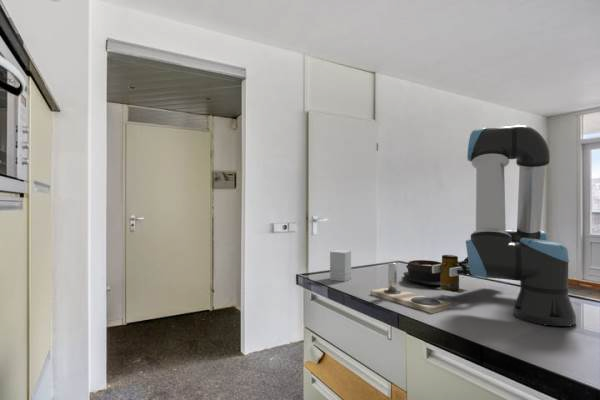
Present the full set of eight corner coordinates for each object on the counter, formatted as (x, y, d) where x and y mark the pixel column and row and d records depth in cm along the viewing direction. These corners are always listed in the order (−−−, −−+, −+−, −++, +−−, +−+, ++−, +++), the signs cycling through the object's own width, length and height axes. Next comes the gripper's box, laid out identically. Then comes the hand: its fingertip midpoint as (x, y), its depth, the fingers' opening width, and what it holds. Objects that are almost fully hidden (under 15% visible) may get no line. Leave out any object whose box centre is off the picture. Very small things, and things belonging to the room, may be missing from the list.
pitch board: (450, 307, 111) (450, 302, 111) (432, 313, 106) (432, 308, 106) (388, 290, 133) (388, 286, 133) (370, 294, 127) (370, 289, 127)
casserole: (393, 276, 158) (393, 258, 158) (430, 275, 161) (430, 257, 162) (421, 290, 134) (421, 269, 134) (464, 288, 137) (464, 267, 137)
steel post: (398, 296, 125) (398, 263, 125) (392, 297, 123) (392, 264, 123) (391, 294, 127) (392, 262, 127) (386, 295, 125) (386, 263, 125)
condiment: (445, 286, 126) (445, 253, 126) (468, 290, 120) (468, 256, 120) (435, 289, 122) (435, 255, 122) (458, 294, 115) (458, 258, 115)
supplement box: (351, 278, 153) (351, 250, 153) (344, 282, 147) (344, 252, 147) (336, 276, 157) (337, 249, 157) (329, 279, 151) (329, 251, 151)
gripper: (503, 279, 124) (467, 287, 111) (454, 271, 139) (418, 276, 127) (503, 258, 124) (468, 264, 111) (454, 252, 140) (418, 256, 127)
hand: (441, 270), depth 119 cm, fingers closed on condiment, 6 cm apart
